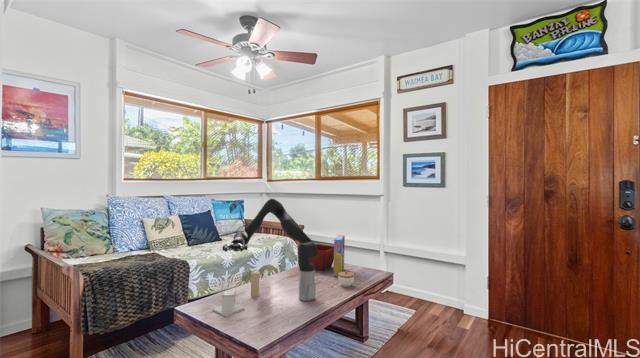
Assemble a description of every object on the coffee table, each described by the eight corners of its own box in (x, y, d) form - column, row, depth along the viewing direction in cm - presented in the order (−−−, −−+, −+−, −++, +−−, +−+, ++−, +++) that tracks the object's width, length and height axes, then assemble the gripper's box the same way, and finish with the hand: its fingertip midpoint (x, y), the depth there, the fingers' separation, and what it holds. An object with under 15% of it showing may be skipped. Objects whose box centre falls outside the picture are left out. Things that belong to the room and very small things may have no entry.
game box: (340, 277, 226) (341, 240, 226) (333, 276, 227) (333, 239, 227) (344, 269, 246) (344, 235, 246) (337, 268, 247) (337, 234, 247)
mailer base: (259, 293, 191) (259, 271, 191) (258, 296, 186) (258, 273, 186) (251, 293, 190) (251, 271, 190) (250, 296, 185) (251, 273, 185)
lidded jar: (353, 288, 203) (354, 274, 203) (337, 287, 204) (337, 273, 204) (354, 283, 213) (354, 269, 213) (338, 282, 214) (338, 268, 215)
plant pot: (304, 268, 245) (304, 247, 245) (316, 263, 261) (317, 243, 261) (324, 273, 235) (325, 251, 235) (336, 267, 251) (337, 246, 251)
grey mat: (244, 309, 167) (244, 307, 167) (225, 316, 158) (225, 315, 158) (231, 303, 175) (231, 301, 175) (212, 310, 165) (212, 308, 165)
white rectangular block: (235, 305, 170) (235, 291, 170) (233, 310, 164) (233, 295, 164) (223, 305, 169) (224, 291, 169) (221, 310, 163) (221, 295, 163)
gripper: (226, 238, 193) (220, 243, 177) (249, 238, 194) (246, 243, 178) (226, 250, 193) (220, 256, 177) (249, 249, 194) (245, 256, 178)
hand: (233, 249), depth 178 cm, fingers open, 8 cm apart
